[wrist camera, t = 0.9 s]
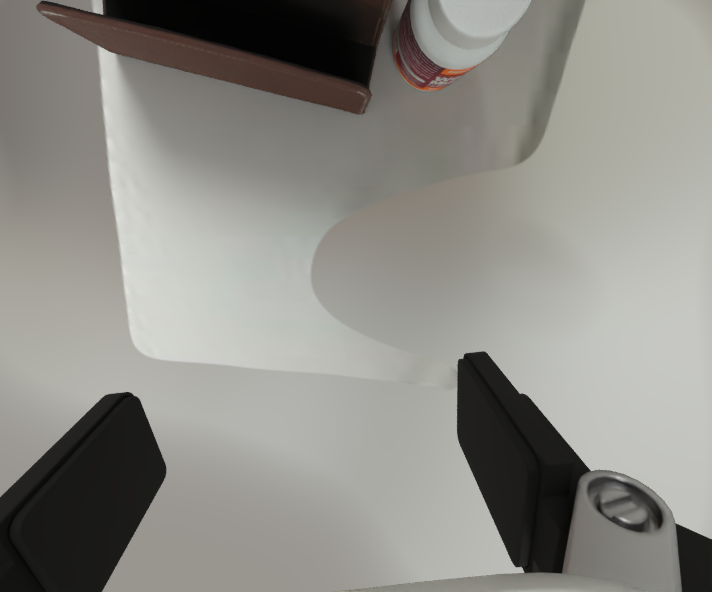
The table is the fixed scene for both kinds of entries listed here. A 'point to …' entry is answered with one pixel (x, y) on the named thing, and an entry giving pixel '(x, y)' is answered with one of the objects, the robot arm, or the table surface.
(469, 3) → the pill bottle
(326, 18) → the letter holder
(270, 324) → the table surface
